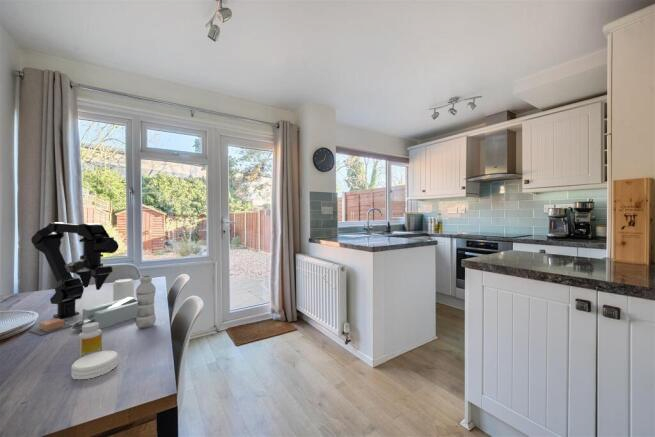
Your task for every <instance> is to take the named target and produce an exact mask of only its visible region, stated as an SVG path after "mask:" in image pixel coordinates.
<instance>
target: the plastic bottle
mask: <svg viewBox="0 0 655 437" xmlns="http://www.w3.org/2000/svg"><path fill="white" fill-rule="evenodd" d="M152 281H153V278H152V275H143V276H140V280H139V282H140V284H139V285H138V286H137V288H136V289H135V297H136V298H137V304H138V310H137V317H135V326H136V327H137V328H138V329H146V328H150V327H153V326H154V325H155V324H156V321H157V320H156V319H157V317H156V313H155V296H156V286H155V285H154V284H153V282H152Z"/></svg>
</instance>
